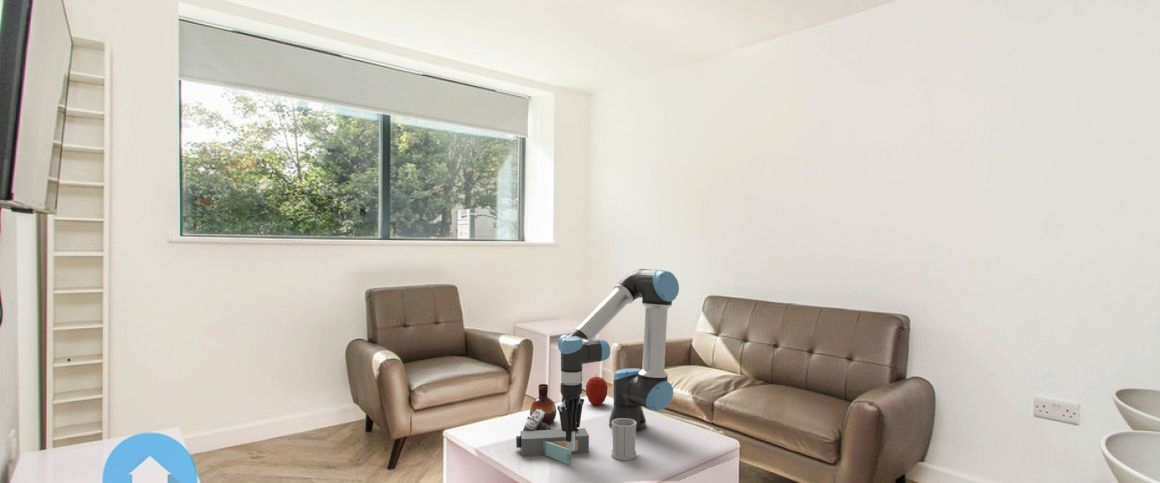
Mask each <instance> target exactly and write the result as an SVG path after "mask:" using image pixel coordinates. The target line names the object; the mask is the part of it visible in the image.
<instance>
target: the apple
mask: <svg viewBox="0 0 1160 483" xmlns="http://www.w3.org/2000/svg"><path fill="white" fill-rule="evenodd" d="M608 388H609V387H608V384H607V382H606V380H605V379H604V378H603V377H600V376H598V375H597V374H596V376H593V377H590V378H589V379H588V381H587V383H586V385H585V393H586V397H587V400H588V402H589V403H590V405H592V406H594V407H595V406H600V405H602V404H603V403H604V402H606V401H605V400H606V398H607V395H608Z"/></svg>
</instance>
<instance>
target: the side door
mask: <svg viewBox="0 0 1160 483" xmlns="http://www.w3.org/2000/svg"><path fill="white" fill-rule="evenodd" d="M542 456H546V457H548V458H551V459H555V460H557V461H559V462H563V463H565V464H567V465H572V453H571V449H568V448H565V447H562V446H559V445H556V444H553V443H550V442H546V441H543V455H542Z"/></svg>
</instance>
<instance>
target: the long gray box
mask: <svg viewBox="0 0 1160 483" xmlns="http://www.w3.org/2000/svg"><path fill="white" fill-rule="evenodd" d="M577 429H578V431H576V438H575V450H574V451H571V454H583V453H590V448H589V447H590V435H589V433H588V431H587V429H586V428H585V427H583V428H582V427H581V428H580V427H579V428H578V427H577ZM515 438H516V439H515V442H516V448H518V449H519V448H520V454H521V457H529V456H528V455H533V456H544V455H543V441H546V442H550V443H553V444H556V445H559V446H562V447H565V448H566V432H564V431H562V428H560V429H551V430H536V431H523V430H522V431H520V434H519V435H516V436H515Z"/></svg>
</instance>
